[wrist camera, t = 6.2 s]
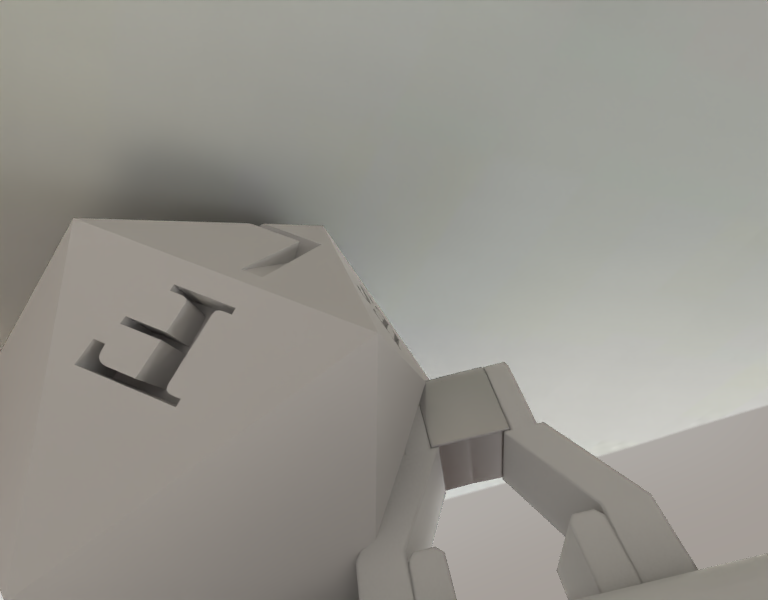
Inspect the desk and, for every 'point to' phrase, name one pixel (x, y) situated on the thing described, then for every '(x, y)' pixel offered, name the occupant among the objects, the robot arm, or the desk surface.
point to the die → (198, 416)
